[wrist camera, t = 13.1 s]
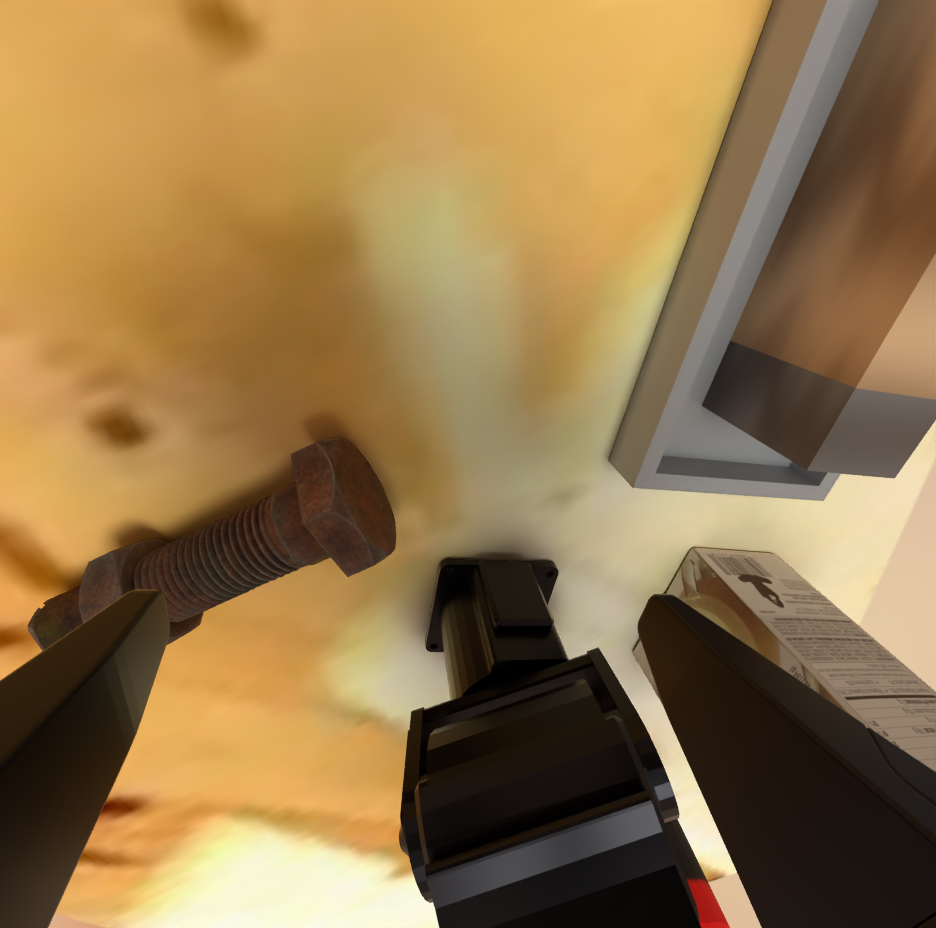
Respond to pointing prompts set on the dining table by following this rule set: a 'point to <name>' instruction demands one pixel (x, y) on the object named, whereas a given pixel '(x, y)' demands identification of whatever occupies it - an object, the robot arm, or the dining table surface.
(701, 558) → the coffee box
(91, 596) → the bolt
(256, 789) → the dining table surface
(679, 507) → the dining table surface
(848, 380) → the brown rectangular block
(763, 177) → the tray
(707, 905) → the soda can
